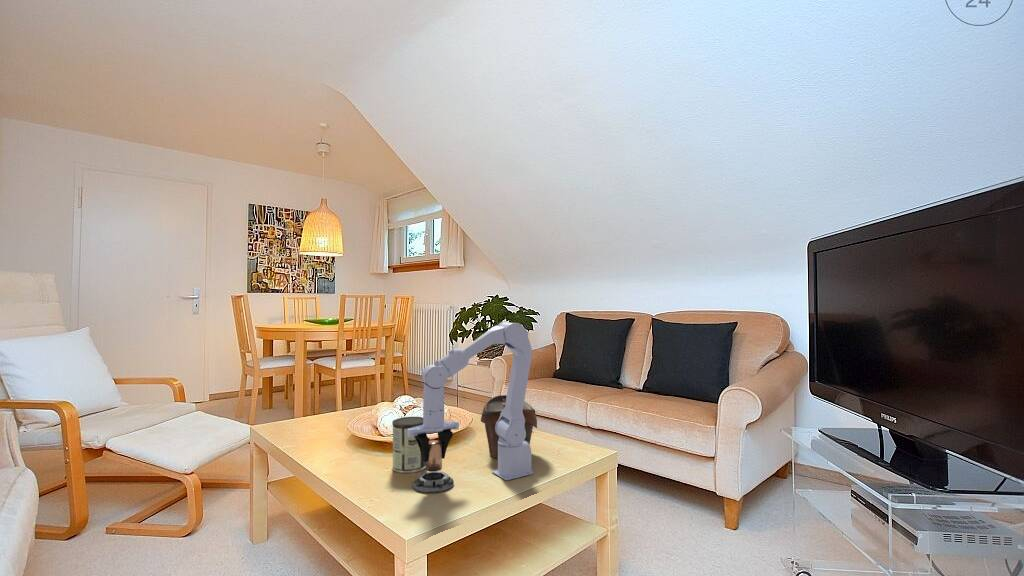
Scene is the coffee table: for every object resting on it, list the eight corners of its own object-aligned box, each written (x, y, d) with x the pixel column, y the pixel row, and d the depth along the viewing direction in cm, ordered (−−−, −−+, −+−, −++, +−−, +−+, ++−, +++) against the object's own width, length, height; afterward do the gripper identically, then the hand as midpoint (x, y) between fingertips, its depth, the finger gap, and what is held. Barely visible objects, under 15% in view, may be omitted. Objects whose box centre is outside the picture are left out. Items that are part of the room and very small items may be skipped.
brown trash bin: (518, 468, 142) (518, 407, 143) (468, 455, 154) (468, 400, 155) (549, 453, 157) (549, 399, 157) (502, 443, 169) (502, 392, 169)
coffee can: (413, 459, 151) (413, 414, 151) (433, 466, 144) (433, 420, 144) (385, 467, 143) (385, 420, 143) (405, 476, 136) (405, 426, 137)
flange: (442, 474, 137) (442, 466, 137) (460, 487, 128) (460, 478, 128) (406, 483, 131) (406, 474, 131) (422, 496, 122) (422, 487, 122)
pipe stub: (436, 464, 132) (436, 439, 133) (445, 468, 129) (445, 442, 129) (422, 468, 130) (422, 442, 130) (431, 472, 126) (430, 446, 126)
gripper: (414, 415, 123) (414, 468, 122) (464, 408, 131) (463, 458, 130) (404, 410, 128) (403, 461, 128) (452, 404, 137) (452, 451, 136)
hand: (433, 459), depth 130 cm, fingers closed on pipe stub, 4 cm apart
